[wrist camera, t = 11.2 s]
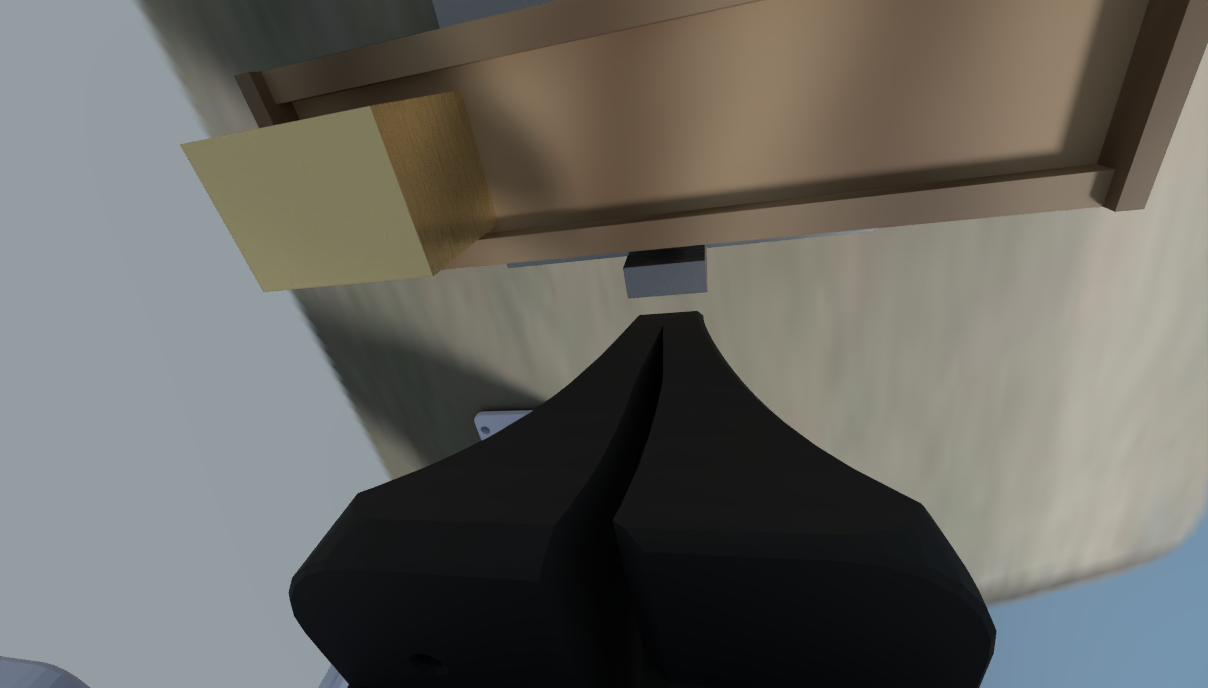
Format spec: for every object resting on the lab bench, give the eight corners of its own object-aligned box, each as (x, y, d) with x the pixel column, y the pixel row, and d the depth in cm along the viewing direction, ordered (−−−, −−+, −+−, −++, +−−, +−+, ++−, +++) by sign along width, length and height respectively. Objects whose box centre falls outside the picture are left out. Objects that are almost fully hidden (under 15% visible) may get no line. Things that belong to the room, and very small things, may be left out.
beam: (1154, -151, 10) (1307, -220, 7) (1056, 192, 13) (1137, 227, 10) (307, 56, 15) (225, 58, 13) (391, 260, 18) (340, 295, 16)
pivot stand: (868, 223, 18) (925, 284, 13) (514, 261, 21) (462, 319, 16) (905, -146, 13) (1016, -252, 8) (436, -21, 16) (331, -48, 12)
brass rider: (498, 223, 15) (432, 276, 11) (359, 239, 16) (263, 291, 12) (460, 90, 13) (369, 106, 9) (308, 120, 14) (179, 144, 11)
